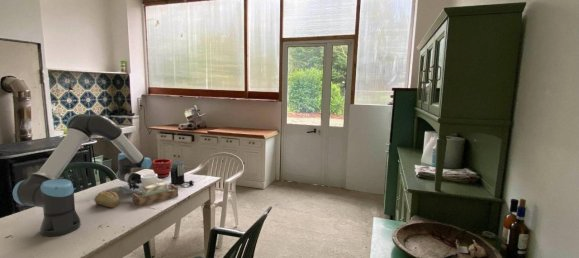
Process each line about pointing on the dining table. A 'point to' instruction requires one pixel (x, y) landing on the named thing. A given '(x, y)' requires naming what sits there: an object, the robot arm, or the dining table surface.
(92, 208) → the dining table surface
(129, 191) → the slate mat
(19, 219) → the dining table surface
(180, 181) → the milk frother
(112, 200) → the bread roll
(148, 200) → the offcut rack
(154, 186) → the short birch offcut
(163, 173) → the plant pot
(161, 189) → the sage painted offcut
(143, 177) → the foam cup
